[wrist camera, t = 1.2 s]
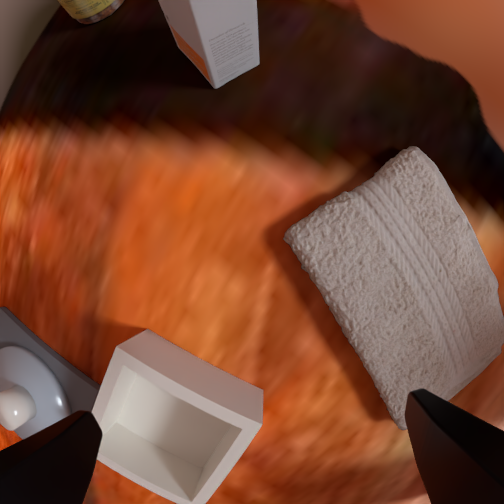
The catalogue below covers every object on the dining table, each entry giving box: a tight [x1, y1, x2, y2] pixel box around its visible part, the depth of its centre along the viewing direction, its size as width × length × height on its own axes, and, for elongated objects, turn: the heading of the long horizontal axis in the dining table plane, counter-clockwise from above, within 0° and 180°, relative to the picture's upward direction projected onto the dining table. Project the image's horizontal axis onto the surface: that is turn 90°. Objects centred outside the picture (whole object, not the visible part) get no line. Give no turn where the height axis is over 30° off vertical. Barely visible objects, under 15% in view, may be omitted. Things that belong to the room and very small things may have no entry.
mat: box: [0, 307, 101, 413], centre depth 20 cm, size 12×12×1 cm
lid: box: [0, 345, 72, 439], centre depth 18 cm, size 10×10×4 cm
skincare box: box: [158, 0, 259, 89], centre depth 15 cm, size 6×4×12 cm
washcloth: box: [283, 146, 504, 430], centre depth 19 cm, size 12×18×3 cm, turn 33°
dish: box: [92, 329, 263, 504], centre depth 18 cm, size 9×9×5 cm
